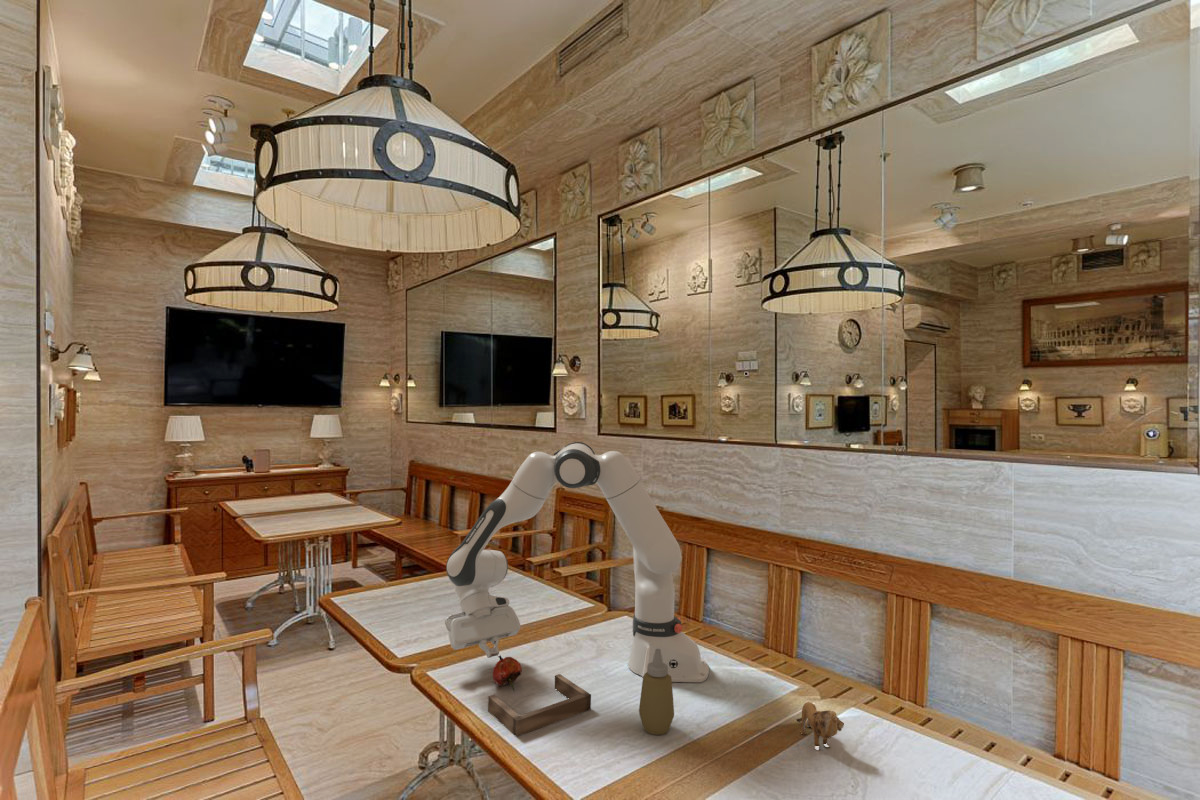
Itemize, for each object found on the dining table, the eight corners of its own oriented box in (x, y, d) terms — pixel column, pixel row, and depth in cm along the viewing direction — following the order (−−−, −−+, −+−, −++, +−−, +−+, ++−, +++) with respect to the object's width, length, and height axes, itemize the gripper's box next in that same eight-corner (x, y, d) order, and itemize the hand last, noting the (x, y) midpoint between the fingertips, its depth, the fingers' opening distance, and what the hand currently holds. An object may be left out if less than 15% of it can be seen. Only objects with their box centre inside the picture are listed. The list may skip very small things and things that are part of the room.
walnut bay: (487, 710, 143) (488, 696, 143) (559, 687, 156) (559, 673, 156) (516, 736, 132) (517, 720, 132) (590, 709, 145) (591, 694, 145)
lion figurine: (846, 757, 128) (847, 714, 128) (825, 760, 126) (826, 717, 126) (805, 721, 142) (806, 683, 142) (785, 724, 140) (786, 685, 141)
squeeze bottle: (672, 740, 132) (674, 659, 132) (636, 735, 134) (638, 655, 134) (675, 721, 140) (677, 644, 140) (640, 717, 142) (642, 641, 142)
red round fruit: (525, 693, 157) (513, 658, 164) (529, 678, 153) (517, 643, 159) (497, 702, 154) (487, 666, 160) (501, 687, 149) (490, 651, 156)
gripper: (446, 611, 162) (461, 659, 155) (513, 597, 175) (530, 641, 167) (439, 622, 166) (454, 671, 158) (505, 608, 178) (521, 652, 171)
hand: (493, 655), depth 163 cm, fingers closed
